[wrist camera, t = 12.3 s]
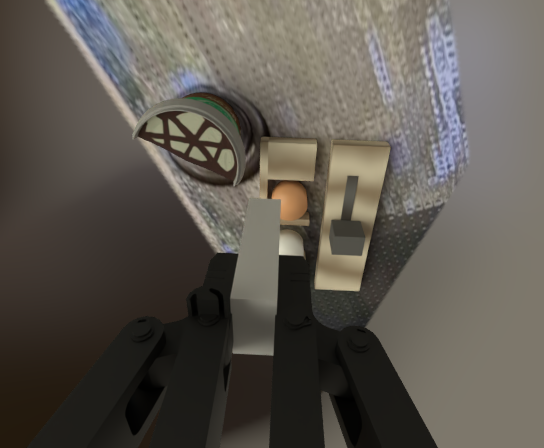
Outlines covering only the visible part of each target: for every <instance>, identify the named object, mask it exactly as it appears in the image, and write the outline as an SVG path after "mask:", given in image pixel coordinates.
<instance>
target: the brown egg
mask: <svg viewBox="0 0 544 448" xmlns="http://www.w3.org/2000/svg"><path fill="white" fill-rule="evenodd" d="M272 199H281V213H280V219H282V220H286V221H293V220H296V219H299V218H300V217H302V216H303V215H304V214H305V212H306V210H307V193H306V190H305V188H304V186H303V185H302V184H301V183H299V182H298V181H295V180H284V181H281V182H279V183H278V184H277V185H276V186H275V187H274V189H273V191H272Z"/></svg>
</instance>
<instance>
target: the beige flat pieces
mask: <svg viewBox="0 0 544 448" xmlns="http://www.w3.org/2000/svg"><path fill="white" fill-rule="evenodd" d="M390 149H391V147H390V145H389V144H388V142H384V141H359V140H334V139H332V142H331V150H330V158H329V166H328V174H327V182H326V190H325V199H324V207H323V215H322V223H321V231H320V239H319V247H318V255H317V263H316V271H315V279H314V282H315V289H327V290H348V291H359V289H360V284H361V280H362V275H363V271H364V266H365V262H366V257H367V253H368V248H369V244H370V239H371V235H372V230H373V226H374V221H375V217H376V212H377V208H378V203H379V199H380V194H381V190H382V185H383V181H384V176H385V171H386V167H387V162H388V158H389V153H390ZM316 151H317V141H316V139H309V138H284V137H261V141H260V199H268V179H274V180H298V181H314V171H315V161H316ZM331 220H349V221H361V225H362V228H363V231H364V234H365V237H366V238H365V243H364V248H363V253H362V256H350V255H332V253H331V247H330V241H329V233H330V226H331ZM280 225H301V226H309V212H305V214H304V215H303V216H302V217H300V218H299V219H296V220H293V221H286V220H282V219H280ZM304 258H305V251H304ZM305 260H306V258H305Z"/></svg>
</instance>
